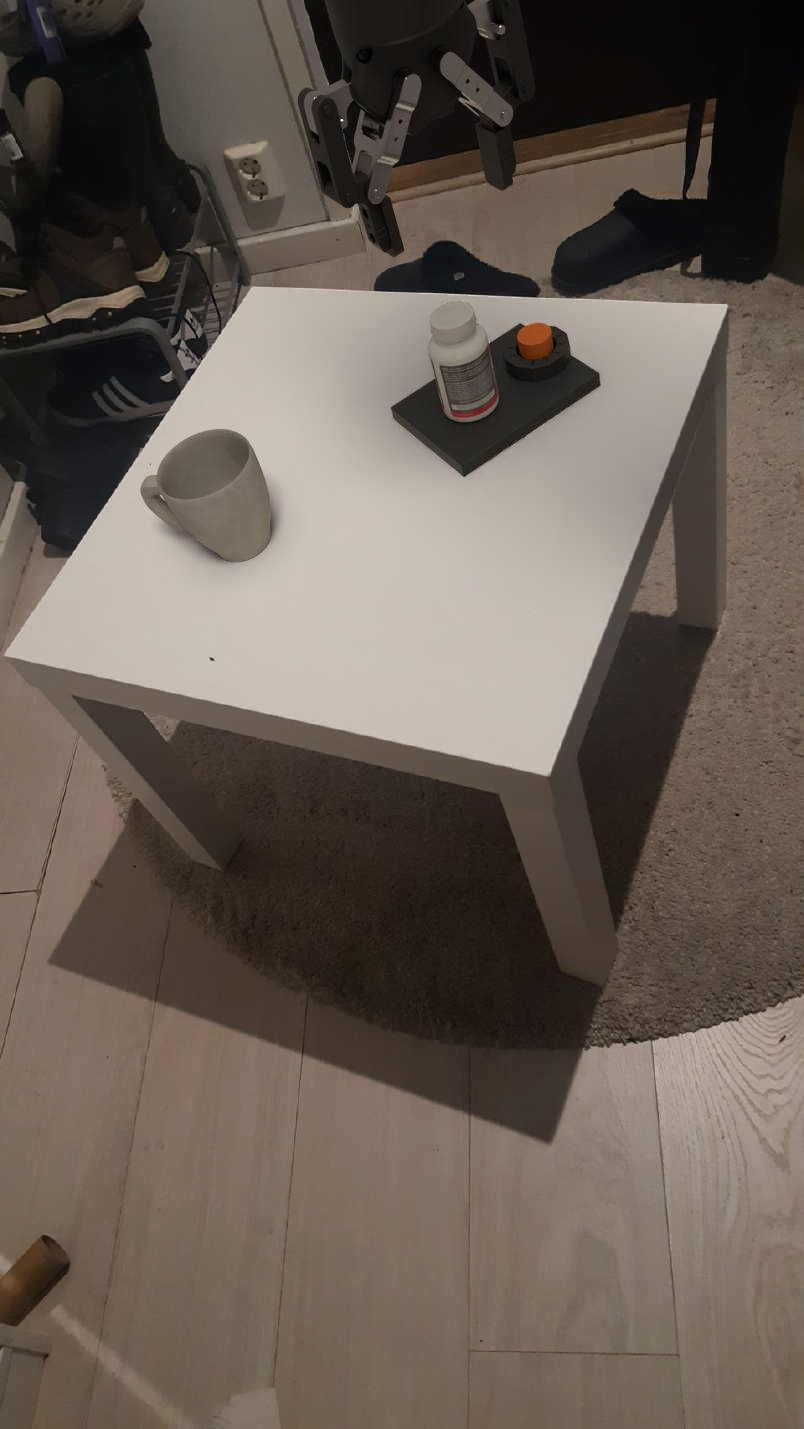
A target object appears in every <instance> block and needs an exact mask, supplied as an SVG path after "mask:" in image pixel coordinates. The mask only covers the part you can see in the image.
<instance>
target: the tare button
mask: <svg viewBox="0 0 804 1429" xmlns="http://www.w3.org/2000/svg"><path fill="white" fill-rule="evenodd" d="M549 326H550V325H548V324H547V323H544V322H533V323H529V324H527V325H525V327H523V328H522V329H521V330H520V331H519V332H518V335H517V340H518V346H519V352H520V355H521V356H522V357H523V358H524V359H531V360H534V359H538V358H543V357H545V356H547V355H548V354H550V353H551V352H552V350H553V339H552V331H551V328H550V327H549Z"/></svg>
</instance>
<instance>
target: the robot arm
mask: <svg viewBox="0 0 804 1429" xmlns="http://www.w3.org/2000/svg"><path fill="white" fill-rule="evenodd" d="M323 2H324V4H325V7H326V11H327V14H328V18H329V22H330V25H331V29H332V32H333V36H334V38H335V40H336V43H337V46H338V49H339V52H340V54H341V63H342V64H341V66H342V67H341V78H340V79H339V80H338V81H336V82H334V83H331V84H329V85H327V86H325V87H323V88H321V89H320V90H315V89H313V88H311V87H304V88H303V89H301V90H300V91H299V93H298V95H297V106H298V109H299V113H300V114H299V115H300V117H301V121H302V124H303V127H304V132H305V135H306V140H307V143H308V146H309V150H310V154H311V157H312V162H313V166H314V169H315V173H316V176H317V179H318V184H319V187H320V191H321V193H322V194H323V195H324V196H325V197H327V198H328V199H330V200H331V201H333V202H335V203H337V204H338V205H339V206H341V207H342V208H345V209H352V208H353V207H354V206H355V205H357V207H358V209H359V212H360V216H361V219H362V224H363V225H364V230H365V232H366V237H367V239H368V241H369V243H371V244H372V246H373V247H375V248H377V249H378V250H379V251H381V252H383V253H386V254H387V255H389V256H391V257H392V258H396V257H398V256H400V255H401V254H403V253H404V252H405V246H404V243H403V239H402V236H401V232H400V228H399V224H398V222H397V221H398V220H397V217H396V213H395V210H394V206H393V203H392V202H393V201H392V199H391V197H390V196H388V195H387V191H388V187H389V182H390V179H391V174H392V172H393V167H394V165H396V164H397V163H398V162H399V161H400V159H401V157H402V152H403V149H404V144H405V141H406V138H407V136H409V137H415V136H416V135H417V134H419V133H421V132H423V131H424V130H425V128H427V126H429V124H431V123H432V121H434V120H435V121H436V120H439V119H442V118H445V117H447V116H449V115H450V114H453V113H454V112H455V111H456V110H455V106H456V105H457V103H458V102H460V103H462V104H463V105H464V106H465V107H467V108H468V109H469V110H470V111H471V112H473V113H474V114H475V115H476V116H478V117H479V121H478V122H476V123H475V124H474V127H475V132H476V138H477V143H478V147H479V148H478V149H479V155H480V158H481V163H482V169H483V174H484V178H485V180H486V182H487V184H488V185H490V186H491V187H494V188H495V189H497V190H499V191H501V192H504V191H505V190H507V189H509V188H510V187H511V186H513V185H514V177H513V175H514V174H515V173H516V169H517V159H516V158H517V157H516V153H515V148H514V147H515V146H514V140H513V133H512V128H511V121H512V120H513V116H514V111H516V109H517V108H518V106H520V104H521V103H522V102H525V103H526V102H529V101H530V100H532V98H533V97H534V95H535V92H536V84H535V83H536V82H535V78H534V73H533V68H532V63H531V62H532V61H531V58H530V52H529V46H528V41H527V36H526V30H525V26H524V20H523V14H522V9H521V6H520V4H521V3H520V0H473V1H472V2H470V3H469V4H467V2H466V0H323ZM478 34H479V36H481V37H484V38H485V42H486V47H487V52H488V56H489V61H490V65H491V69H492V73H493V74H492V75H493V79H494V83H495V85H494V86H491V85H490V84H489V83H488V81H486V80H485V79H484V78H483V77H481V76H480V75H479V74H478V73H477V72H476V71H474V69H472V68H471V67H470V63H471V58H472V54H473V51H474V47H475V43H476V40H477V36H478ZM351 104H354V105H355V106H356V107H357V108H359V109H360V110H359V111H360V112H359V116H358V118H357V119H358V120H357V124H356V128H355V131H354V137H353V144H354V147H355V150H354V151H355V152H354V156H353V160H352V163H351V159H350V155H349V152H348V147H347V143H346V138H345V135H344V129H346V128H347V127H348V125H349V120H348V115H347V114H348V109H349V107H350V105H351ZM380 126H382V127H383V128H384V129H383V133H382V136H381V138H380V136H379V130H380Z"/></svg>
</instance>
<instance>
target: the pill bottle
mask: <svg viewBox="0 0 804 1429" xmlns="http://www.w3.org/2000/svg"><path fill="white" fill-rule="evenodd" d="M428 322H429V327H430V333H431V337H430V338H429V341H428V344H427V352H428V354H427V355H428V358H429V361H430V365H431V369H432V372H433V376H434V379H435V381H436V385H437V389H438V392H439V396H440V400H441V404H442V407H443V410H444V413H445V414H446V416H447V417H448V418H450V419H452V420H454V421H457V422H473V421H477V420H480V419H482V418H484V417H486V416H488V415H489V414H490V413H491V412H492V411H493V410H494V409H495V408H496V406H497V404H498V401H499V394H498V389H497V383H496V379H495V373H494V368H493V363H492V358H491V353H490V348H489V343H490V342H489V338H488V334H487V331H486V330H485V329H484V328H483V326H481V325H480V324H479V323H477V322H478V319H477V316H476V311H475V309H474V306H473V305H472V304H471V303H469V302H468V301H463V300H452V301H448V302H445V303H443V304H440V305H439V306H437V307H436V308H435V309H434V310H433V311H432V312H431V313H430V316H429V319H428Z"/></svg>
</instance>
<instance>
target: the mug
mask: <svg viewBox="0 0 804 1429" xmlns="http://www.w3.org/2000/svg"><path fill="white" fill-rule="evenodd" d="M139 491H140V495H141V498H142V500H143V502H144V504H145V505H146V506H147V508H148V510H150V511H151V512H152V513H153V514H154V515H155V516H156V517H158V519H160V520H161V521H162V522H164V523H165V524H167V525H168V526H170V527H172V528H174V529H179V530H185V531H187V532H188V533H189V534H190V535H191V536H192V537H193V538H194V539H195V540H196V541H198V542H199V543H200V544H202V545H203V546H204V547H206V548H207V549H209V550H211V551H212V552H214V553H216V554H217V555H219V557H221V558H222V559H223V560H225V561H228V562H231V563H240V562H245V561H249V560H251V559H254V558H255V557H257V556H258V555H259V554H261V553H262V552H263V551H264V550H265V549H266V548H267V546H268V545H269V542H270V540H271V536H272V530H271V519H272V518H271V515H272V510H271V509H272V508H271V497H270V493H269V489H268V484H267V480H266V478H265V475H264V471H263V469H262V466H261V464H260V461H259V459H258V457H257V454H256V452H255V450H254V447H253V446H252V445H251V443H250V441H249V440H248V439H247V438H246V437H245V436H244V435H243V434H241V433H239V432H238V431H235V430H232V429H227V428H214V429H208V430H203V431H200V432H197V433H195V434H193V435H190V436H188V437H187V438H184V439H183V440H181V441H179V442H178V443H177V444H175V445H174V446H173V447H172V448H171V449H170V450H169V451H168V452H167V453H166V454H165V456H164V457H163V458H162V460H161V461H160V462H159V465H158V468H157V473H156V474H151V475H147V476H146V477H145V478H144V479H143V481H142V483H141V485H140V490H139Z"/></svg>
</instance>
